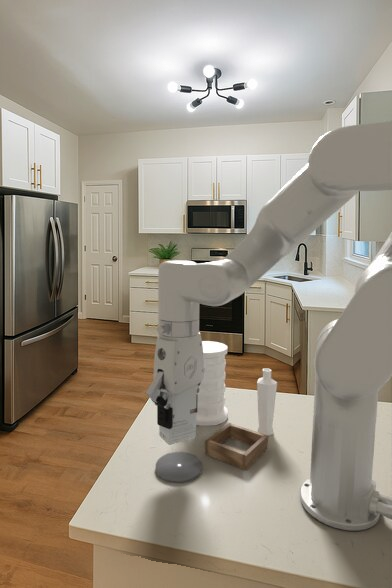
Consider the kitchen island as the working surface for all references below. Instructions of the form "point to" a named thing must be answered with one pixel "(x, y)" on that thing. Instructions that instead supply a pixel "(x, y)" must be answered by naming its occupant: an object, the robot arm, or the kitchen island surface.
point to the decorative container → (212, 386)
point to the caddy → (232, 455)
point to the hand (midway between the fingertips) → (177, 418)
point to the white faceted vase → (266, 402)
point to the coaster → (178, 467)
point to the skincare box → (181, 417)
